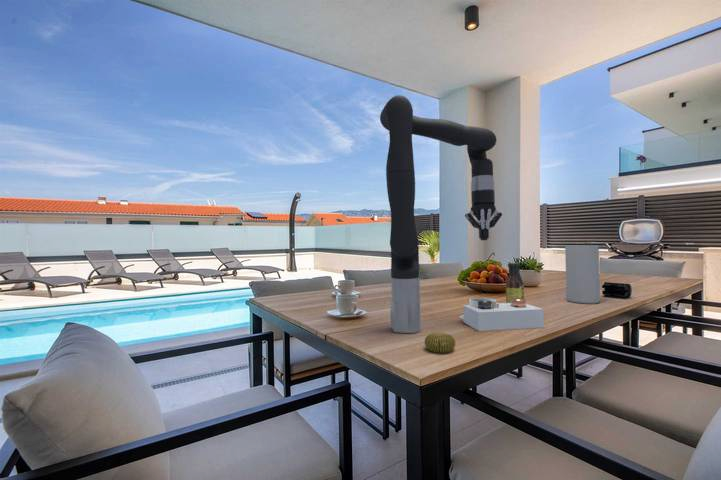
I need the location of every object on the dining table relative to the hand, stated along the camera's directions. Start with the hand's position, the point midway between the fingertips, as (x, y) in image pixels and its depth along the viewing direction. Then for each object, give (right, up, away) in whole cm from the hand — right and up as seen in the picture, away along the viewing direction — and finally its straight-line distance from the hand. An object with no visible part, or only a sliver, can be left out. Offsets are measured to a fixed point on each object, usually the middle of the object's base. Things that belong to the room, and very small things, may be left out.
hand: (484, 240), depth 117 cm
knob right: (+11, -28, -2) cm, 30 cm away
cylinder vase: (+57, -28, +34) cm, 72 cm away
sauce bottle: (+16, -29, +11) cm, 35 cm away
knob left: (-1, -29, -3) cm, 29 cm away
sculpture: (-21, -30, -26) cm, 45 cm away
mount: (+5, -29, -2) cm, 29 cm away
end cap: (+78, -27, +43) cm, 93 cm away
